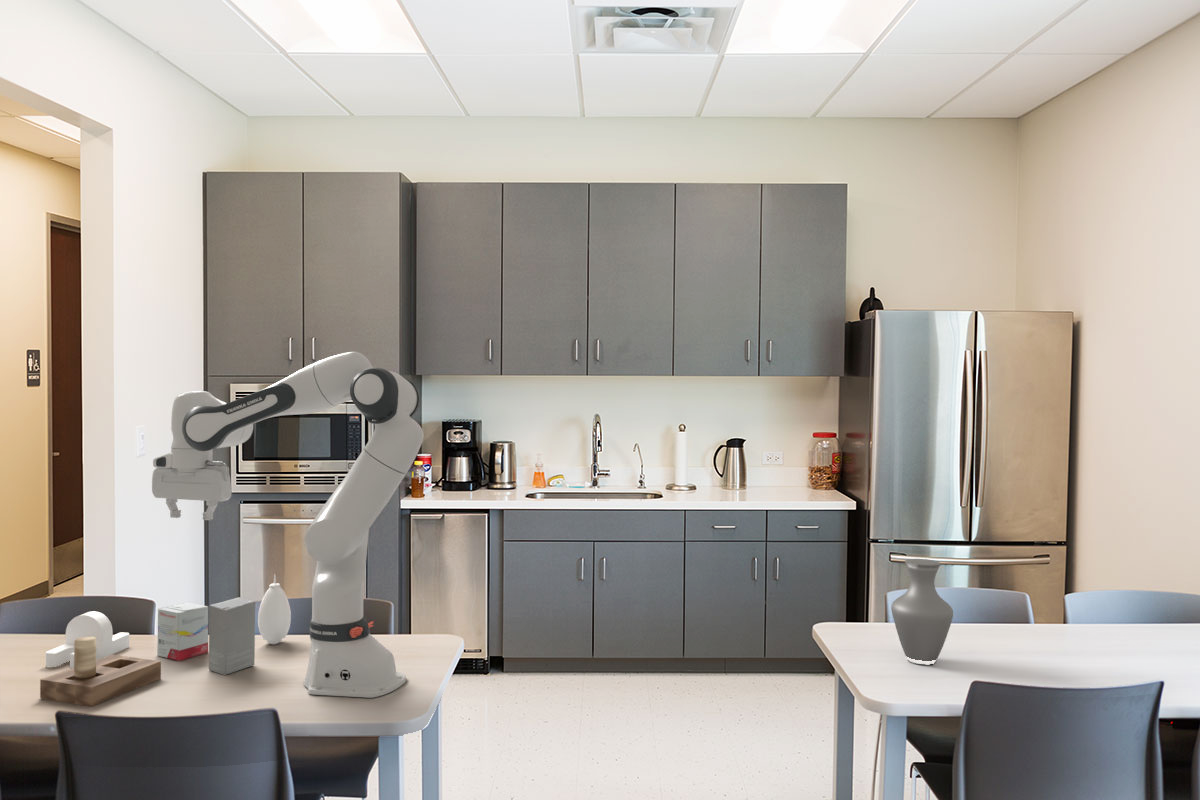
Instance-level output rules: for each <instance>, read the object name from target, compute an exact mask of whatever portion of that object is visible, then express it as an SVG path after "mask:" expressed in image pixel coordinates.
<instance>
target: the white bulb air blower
mask: <svg viewBox="0 0 1200 800" xmlns="http://www.w3.org/2000/svg"><path fill="white" fill-rule="evenodd" d="M268 587H269V588H268V589H267V590H266V592H265V593H264V595H263V597H262V600H261V602H260V606H259V608H258V612H257V613H258V615H257V626H258V628H257V629H258V631H259V634H260V636H261V637H262V639H263V640H264V641H266V642H267V643H268V644H270V645H278V644H279V643H280V642H282V641H283V639H285V638H286V637H287V636H288V635H287V634H288V633H289V631H290V627H291V622H292V621H291V619H292V611H291V606H290V602H289V600H288V599H289V598H288V597H287V594H286V593H285V591H284V589H283V588H282V587H281V584H280V583H278V582H277V578H276V574H275V573H274V575H273V582H272V583H270V584H269V586H268Z"/></svg>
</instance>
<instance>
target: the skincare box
mask: <svg viewBox="0 0 1200 800" xmlns="http://www.w3.org/2000/svg"><path fill="white" fill-rule="evenodd" d="M208 607H209V608H208V669H209V671H211V672H215V673H218V674H219V675H223V676H226V675H230V674H232V673H236V672H238V671H241V670H243V669H247V668H249V667H253V666H254V665H255V657H256V655H255V650H256V649H255V645H256V642H255V641H256V638H255V636H256V633H255V632H256V601H254V600H252V599H247V598H245V597H239V596H238V597H235V598H231V599H227V600H224V601H221V602H217V603H212V604H209V605H208Z"/></svg>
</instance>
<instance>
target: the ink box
mask: <svg viewBox="0 0 1200 800" xmlns="http://www.w3.org/2000/svg"><path fill="white" fill-rule="evenodd" d="M156 645H157V650H156V651H157V652H156V654H157V655H156V656H158V657H163V658H166V659H170V660H174V661H178V662H179V661H180V662H181V661H185V660H188V659H191V658H194V657H197V656H201V655H203V654H209V605H202V604H197V603H193V602H188V601H187V602H185V603H179V604H178V603H177V604H174V605H169V606H166V607H165V606H164V607H160V608H158V609H157V644H156Z"/></svg>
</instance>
